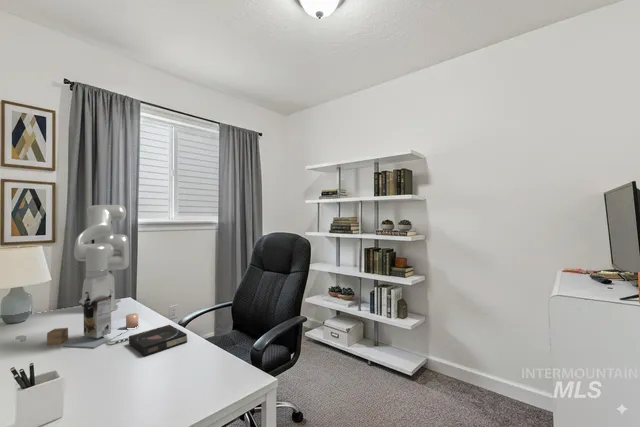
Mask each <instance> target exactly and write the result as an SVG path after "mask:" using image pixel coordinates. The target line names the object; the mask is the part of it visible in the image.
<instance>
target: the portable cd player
mask: <svg viewBox="0 0 640 427" xmlns="http://www.w3.org/2000/svg"><path fill="white" fill-rule="evenodd" d="M186 343H188V336H187V333H186V332H184V331H182V330H181V329H179V328H177V327H175V326H172V325H171V324H167V325H164V326H160V327H156V328H153V329H149V330H145V331H142V332H138V333H136V334H131V335H129V336H128V345H129V346H130V347H131V348H132V349H134V350H135V351H136V352H138V353H139V354H140V355H141V356H142V357H147V356H150V355H154V354H157V353H161V352H163V351H165V350H169V349H171V348H174V347H177V346H180V345H183V344H186Z"/></svg>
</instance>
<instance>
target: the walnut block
mask: <svg viewBox="0 0 640 427" xmlns="http://www.w3.org/2000/svg"><path fill="white" fill-rule="evenodd" d="M68 339H69V327H59V328H58V327H57V328H54V329H52V330H50V331H49V332H47V333H46V346H49V345H51V346H53V345H61V344H63V343H64V342H66V341H67V340H68Z"/></svg>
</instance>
